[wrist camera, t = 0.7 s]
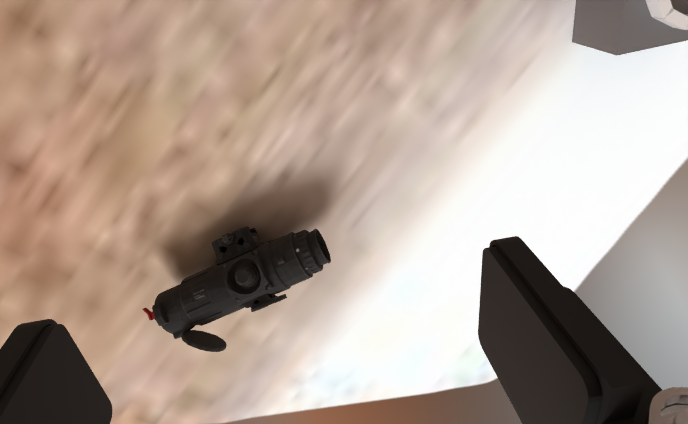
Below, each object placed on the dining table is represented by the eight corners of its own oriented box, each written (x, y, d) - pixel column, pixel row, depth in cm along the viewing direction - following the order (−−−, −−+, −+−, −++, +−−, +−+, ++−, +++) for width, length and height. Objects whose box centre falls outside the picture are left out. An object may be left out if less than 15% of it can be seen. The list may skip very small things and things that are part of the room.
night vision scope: (315, 207, 47) (352, 294, 46) (172, 271, 49) (202, 357, 48) (295, 198, 39) (338, 303, 38) (126, 275, 41) (160, 377, 40)
